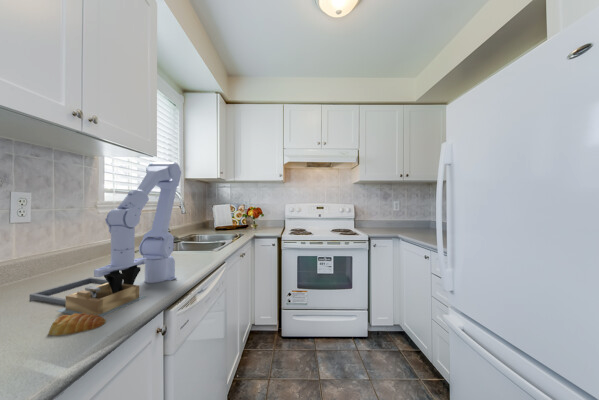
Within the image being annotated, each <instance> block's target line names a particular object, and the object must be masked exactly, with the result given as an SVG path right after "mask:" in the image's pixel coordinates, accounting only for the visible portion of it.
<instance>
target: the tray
mask: <svg viewBox="0 0 599 400" xmlns="http://www.w3.org/2000/svg"><path fill="white" fill-rule="evenodd" d="M94 283H95V284H96V283H97V284H101V285H102V284H105V283H108V281H107V280H106V279H105V278H101V277H88V278H83V279H80V280H77V281H73V282H69V283H65V284H63V285H59V286H56V287H51V288H47V289H44V290H42V291H37V292H33V293H30V294H29V300H28V301H29V303H30V302H34V301H39V302H46V303H50V304H56V305H62V306H66V298H63V297H62V298H61V297H57V296H56V297H54V296H53V295H57V294H60V293H63V292H67V291H70V290H74V289H76V288H81V287H84V286H87V285H90V284H94ZM122 283H123V282H122Z"/></svg>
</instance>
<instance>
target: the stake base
mask: <svg viewBox="0 0 599 400" xmlns="http://www.w3.org/2000/svg"><path fill="white" fill-rule="evenodd" d="M108 296H109V295H108ZM105 297H106V296H105ZM146 297H147V296H146V295H140V294H139V298H137V299H135V300H132V301H130V302H128V303H125V304H123V305H121V306H118V307H116V308H114V309H111V310H109V311H107V312H104V313H102V314H100V315H97V316H100V317H103V316H106V315H108V314H110V313H112V312H115V311H117V310H119V309H121V308H124V307H126V306H128V305H130V304H132V303H135V302H137V301H139V300H140V301H141V300H143V299H144V298H146ZM56 312H58V313H65V314H67V315H68V314H70V315H73V314H75V313H78V314H81V313H82V312H77V311H72V310H66V306H64V307H63V308H60V309H58V310H56ZM86 314H88V313H86Z"/></svg>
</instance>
